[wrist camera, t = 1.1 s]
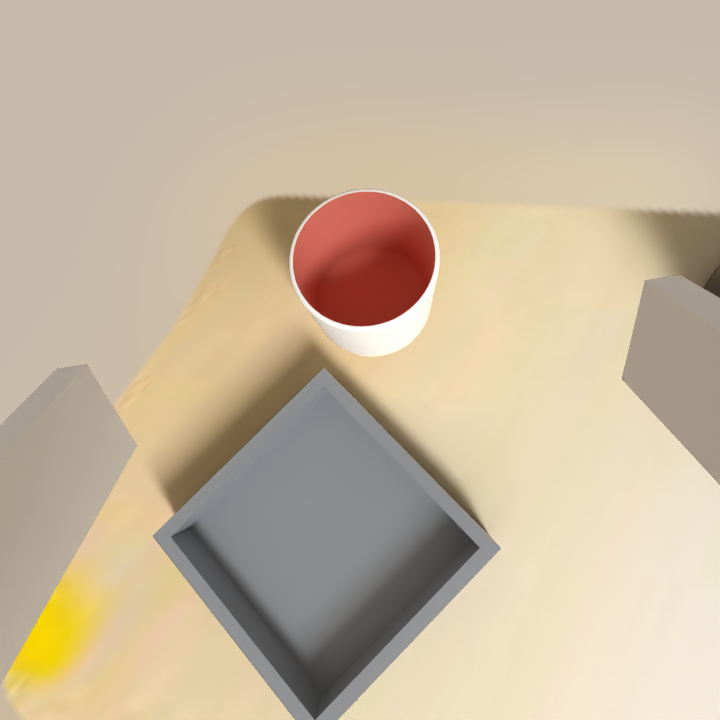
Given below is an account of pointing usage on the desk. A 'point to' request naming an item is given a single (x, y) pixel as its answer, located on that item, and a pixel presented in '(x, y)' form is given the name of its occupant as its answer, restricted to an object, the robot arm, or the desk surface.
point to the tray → (324, 549)
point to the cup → (366, 270)
